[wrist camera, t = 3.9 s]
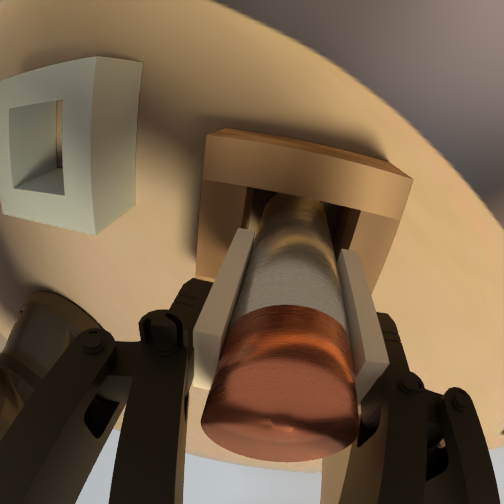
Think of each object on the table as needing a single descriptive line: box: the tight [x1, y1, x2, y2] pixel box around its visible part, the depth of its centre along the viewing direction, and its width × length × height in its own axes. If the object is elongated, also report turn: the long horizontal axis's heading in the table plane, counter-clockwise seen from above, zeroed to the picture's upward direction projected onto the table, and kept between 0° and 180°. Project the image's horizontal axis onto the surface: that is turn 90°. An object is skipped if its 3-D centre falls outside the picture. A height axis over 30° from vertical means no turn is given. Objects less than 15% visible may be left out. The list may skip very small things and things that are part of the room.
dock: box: [0, 56, 143, 236], centre depth 15 cm, size 10×10×5 cm
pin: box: [201, 193, 360, 462], centre depth 12 cm, size 4×4×14 cm
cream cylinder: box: [320, 404, 361, 504], centre depth 23 cm, size 8×8×12 cm
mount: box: [196, 128, 413, 294], centre depth 17 cm, size 10×10×4 cm
